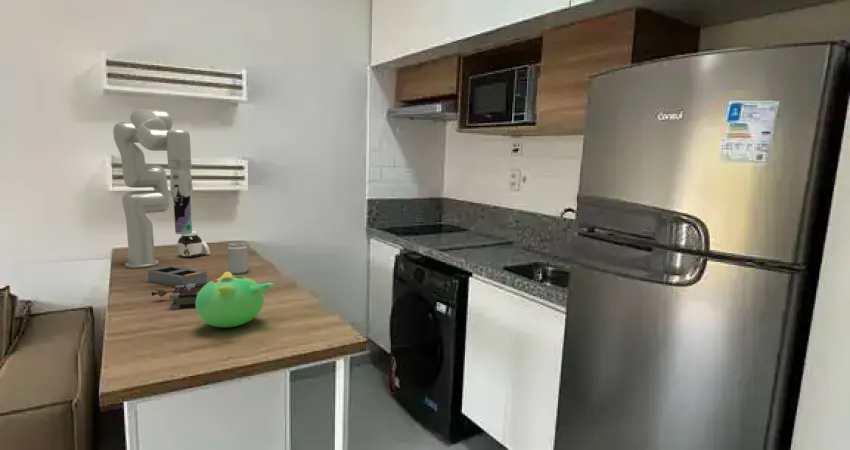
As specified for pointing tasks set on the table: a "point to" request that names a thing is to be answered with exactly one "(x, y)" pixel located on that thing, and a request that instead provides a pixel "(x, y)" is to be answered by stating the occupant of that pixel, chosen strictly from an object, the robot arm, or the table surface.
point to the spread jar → (192, 245)
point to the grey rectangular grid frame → (176, 276)
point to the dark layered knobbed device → (182, 295)
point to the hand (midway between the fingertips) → (182, 215)
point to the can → (237, 258)
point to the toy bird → (230, 300)
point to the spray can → (184, 218)
